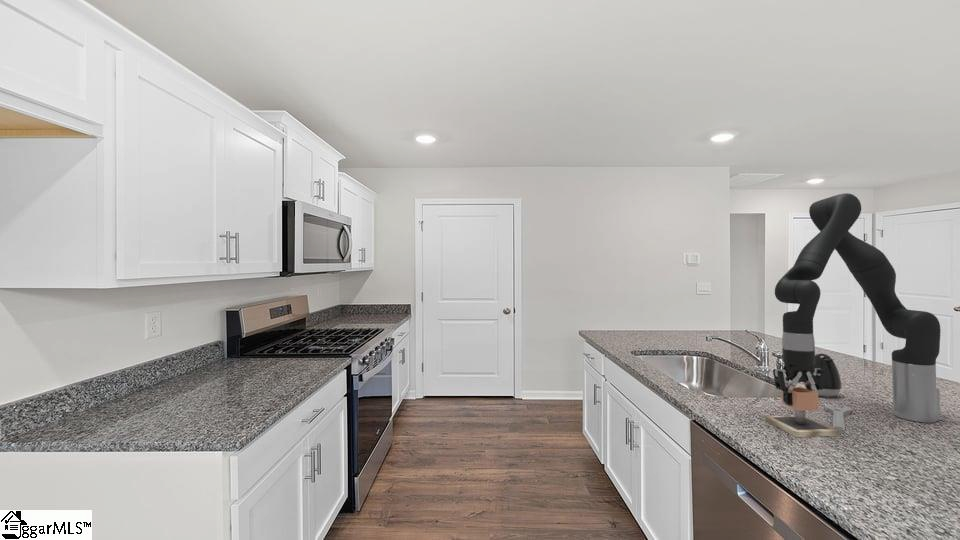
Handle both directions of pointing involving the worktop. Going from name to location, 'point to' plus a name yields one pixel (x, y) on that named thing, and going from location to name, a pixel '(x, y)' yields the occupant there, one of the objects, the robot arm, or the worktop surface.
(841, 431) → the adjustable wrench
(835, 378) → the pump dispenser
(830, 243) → the robot arm
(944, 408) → the worktop surface
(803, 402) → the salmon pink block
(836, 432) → the post plate
